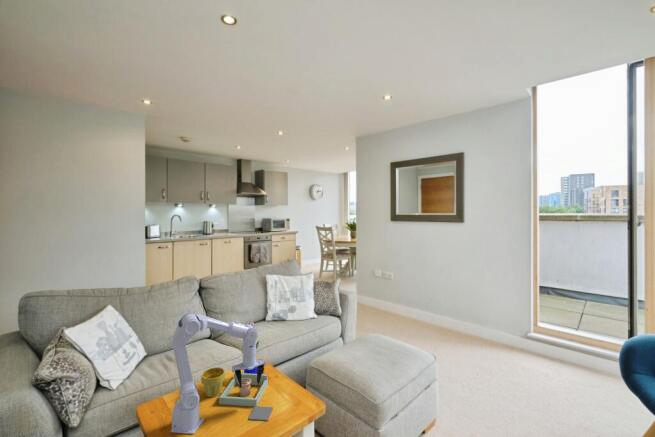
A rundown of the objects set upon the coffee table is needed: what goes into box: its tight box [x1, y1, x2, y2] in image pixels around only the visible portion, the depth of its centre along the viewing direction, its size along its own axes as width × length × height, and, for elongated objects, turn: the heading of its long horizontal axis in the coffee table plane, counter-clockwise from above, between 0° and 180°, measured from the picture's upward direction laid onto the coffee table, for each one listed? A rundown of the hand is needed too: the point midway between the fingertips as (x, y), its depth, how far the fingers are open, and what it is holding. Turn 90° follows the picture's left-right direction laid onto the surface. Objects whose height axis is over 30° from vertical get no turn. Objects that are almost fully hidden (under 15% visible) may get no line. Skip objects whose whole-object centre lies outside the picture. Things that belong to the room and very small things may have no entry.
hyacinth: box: [243, 320, 260, 374], centre depth 154 cm, size 9×10×30 cm
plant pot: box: [200, 366, 226, 398], centre depth 140 cm, size 10×10×10 cm
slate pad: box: [248, 405, 274, 422], centre depth 125 cm, size 8×8×1 cm
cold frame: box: [218, 372, 269, 407], centre depth 139 cm, size 17×17×5 cm
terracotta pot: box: [237, 378, 251, 398], centre depth 139 cm, size 6×6×6 cm
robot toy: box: [174, 395, 181, 406], centre depth 131 cm, size 7×12×2 cm, turn 2°
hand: (249, 384), depth 130 cm, fingers open, 7 cm apart
